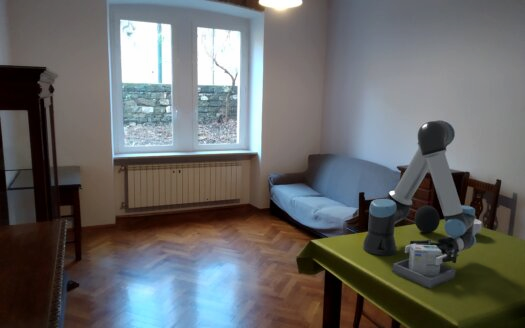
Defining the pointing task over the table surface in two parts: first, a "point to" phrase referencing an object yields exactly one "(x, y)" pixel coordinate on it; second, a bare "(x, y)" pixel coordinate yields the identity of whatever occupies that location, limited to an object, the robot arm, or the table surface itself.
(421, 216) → the decorative egg
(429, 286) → the tray
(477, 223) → the paper bowls
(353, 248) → the table surface
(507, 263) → the table surface
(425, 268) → the light bulb box
